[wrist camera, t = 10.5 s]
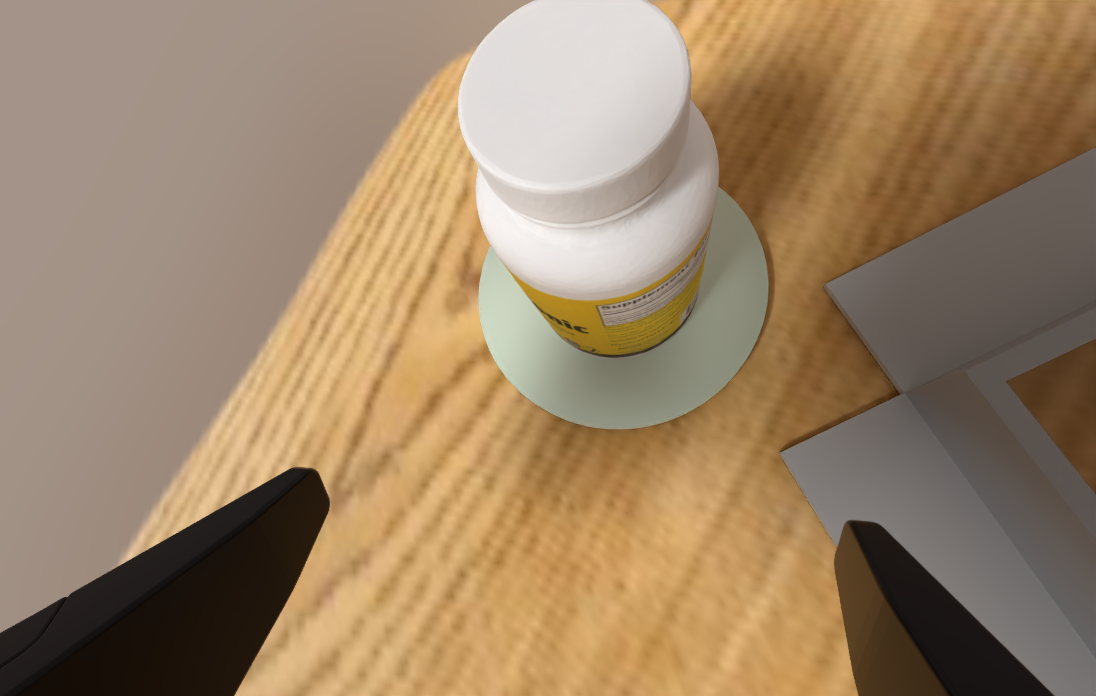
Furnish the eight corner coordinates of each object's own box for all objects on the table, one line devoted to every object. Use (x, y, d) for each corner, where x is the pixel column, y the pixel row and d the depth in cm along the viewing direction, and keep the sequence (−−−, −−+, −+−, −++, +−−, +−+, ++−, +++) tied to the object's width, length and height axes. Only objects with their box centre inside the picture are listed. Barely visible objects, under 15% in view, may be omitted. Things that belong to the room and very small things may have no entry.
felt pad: (550, 481, 17) (547, 481, 17) (445, 244, 20) (440, 239, 20) (828, 343, 16) (832, 339, 16) (673, 120, 19) (674, 111, 19)
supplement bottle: (517, 263, 19) (377, 51, 10) (649, 191, 18) (637, -103, 9) (583, 392, 17) (491, 288, 8) (730, 316, 17) (816, 111, 7)
